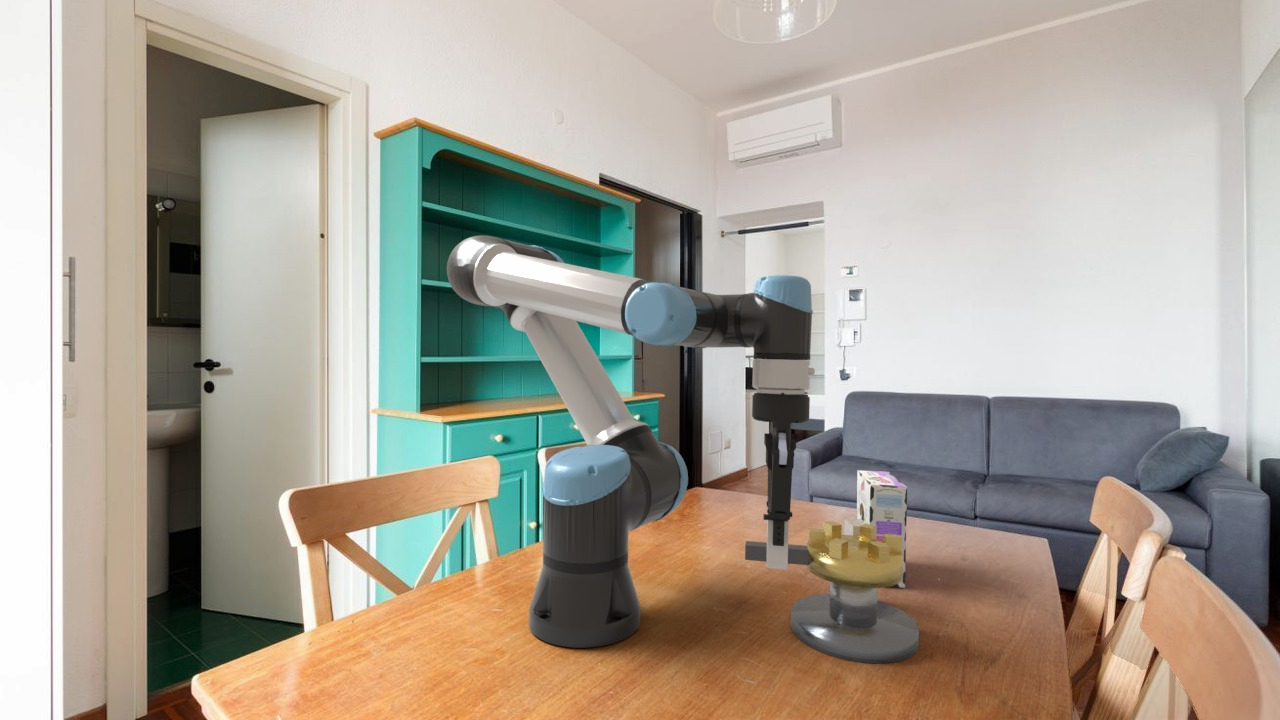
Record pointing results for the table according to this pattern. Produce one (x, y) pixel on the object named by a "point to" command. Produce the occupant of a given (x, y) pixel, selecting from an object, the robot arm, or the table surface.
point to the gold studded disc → (844, 556)
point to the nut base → (855, 639)
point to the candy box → (883, 506)
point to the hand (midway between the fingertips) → (776, 567)
